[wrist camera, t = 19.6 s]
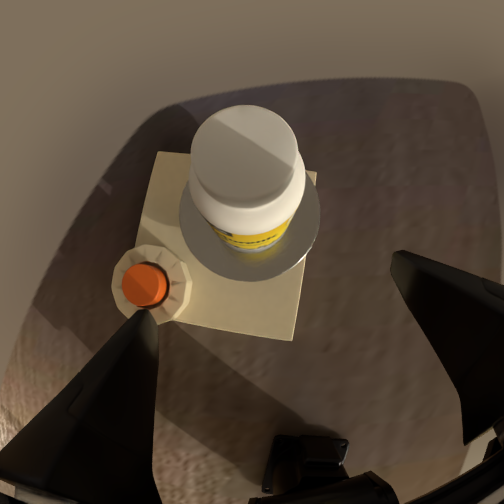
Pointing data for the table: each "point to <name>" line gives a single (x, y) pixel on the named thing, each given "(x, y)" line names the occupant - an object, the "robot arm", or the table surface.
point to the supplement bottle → (246, 175)
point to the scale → (201, 269)
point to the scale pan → (251, 261)
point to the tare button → (144, 285)
